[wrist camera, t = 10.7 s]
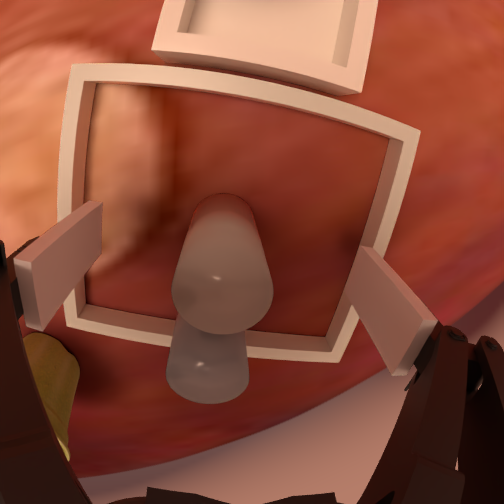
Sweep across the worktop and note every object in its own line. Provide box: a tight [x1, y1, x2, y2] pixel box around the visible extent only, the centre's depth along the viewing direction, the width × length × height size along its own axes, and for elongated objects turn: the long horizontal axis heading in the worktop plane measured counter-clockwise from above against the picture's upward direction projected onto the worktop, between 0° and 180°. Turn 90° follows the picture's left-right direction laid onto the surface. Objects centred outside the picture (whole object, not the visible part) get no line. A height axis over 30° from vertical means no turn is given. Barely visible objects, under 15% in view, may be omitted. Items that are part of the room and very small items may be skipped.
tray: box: [57, 63, 421, 363], centre depth 18 cm, size 17×20×2 cm
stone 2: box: [166, 312, 249, 404], centre depth 17 cm, size 4×4×8 cm
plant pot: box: [23, 333, 80, 462], centre depth 19 cm, size 9×9×9 cm
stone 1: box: [171, 193, 273, 334], centre depth 15 cm, size 4×4×8 cm
